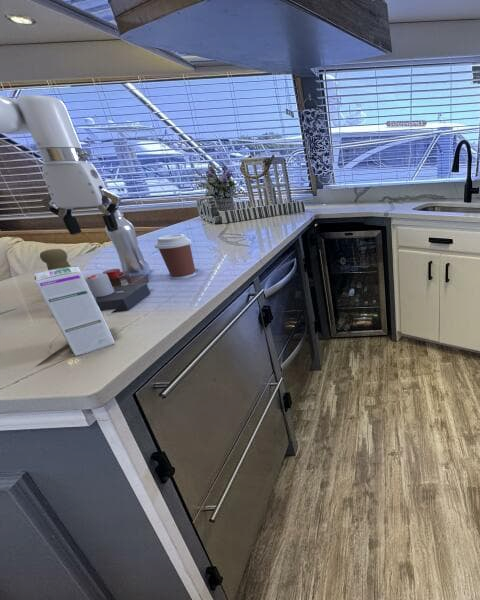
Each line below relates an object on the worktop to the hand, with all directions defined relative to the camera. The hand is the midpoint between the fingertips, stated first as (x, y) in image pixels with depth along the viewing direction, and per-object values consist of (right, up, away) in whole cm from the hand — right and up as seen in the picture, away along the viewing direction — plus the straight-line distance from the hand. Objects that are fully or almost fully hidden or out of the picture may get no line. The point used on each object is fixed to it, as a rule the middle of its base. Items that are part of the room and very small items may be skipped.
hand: (94, 231), depth 82 cm
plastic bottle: (-2, -11, +16) cm, 19 cm away
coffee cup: (+13, -10, +15) cm, 22 cm away
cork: (-17, -14, +10) cm, 24 cm away
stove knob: (+7, -16, -6) cm, 19 cm away
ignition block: (+1, -15, +6) cm, 16 cm away
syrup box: (+21, -26, -23) cm, 41 cm away
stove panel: (+8, -19, -5) cm, 21 cm away
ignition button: (0, -11, +5) cm, 12 cm away
